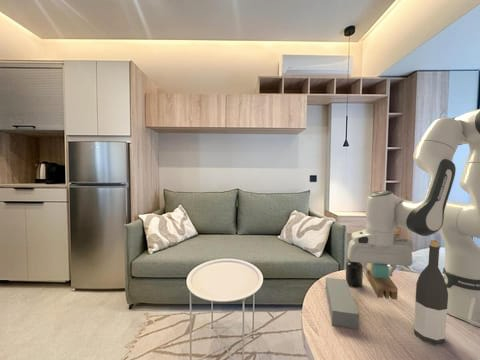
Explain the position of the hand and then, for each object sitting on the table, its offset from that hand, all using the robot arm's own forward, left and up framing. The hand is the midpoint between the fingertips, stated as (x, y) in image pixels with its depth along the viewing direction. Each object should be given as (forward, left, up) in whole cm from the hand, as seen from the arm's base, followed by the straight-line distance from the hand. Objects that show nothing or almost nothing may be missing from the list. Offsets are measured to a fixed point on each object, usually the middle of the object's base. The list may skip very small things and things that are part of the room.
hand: (378, 274), depth 90 cm
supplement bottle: (+4, -20, -14) cm, 24 cm away
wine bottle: (-12, +10, -14) cm, 21 cm away
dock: (+12, 0, -14) cm, 18 cm away
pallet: (0, 0, -3) cm, 3 cm away
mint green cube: (0, +2, +1) cm, 2 cm away
